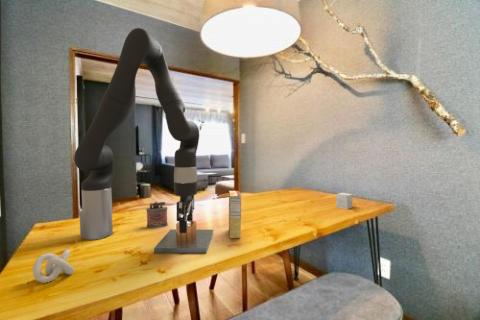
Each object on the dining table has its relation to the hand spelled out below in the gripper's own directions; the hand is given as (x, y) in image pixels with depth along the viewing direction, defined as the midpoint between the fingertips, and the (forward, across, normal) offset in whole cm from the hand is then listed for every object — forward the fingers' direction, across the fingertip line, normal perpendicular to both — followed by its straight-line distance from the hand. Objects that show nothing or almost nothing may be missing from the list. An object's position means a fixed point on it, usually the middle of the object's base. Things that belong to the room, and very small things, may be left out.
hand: (186, 228), depth 78 cm
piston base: (+5, 0, 0) cm, 5 cm away
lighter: (+5, -16, -16) cm, 23 cm away
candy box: (+5, -8, +16) cm, 19 cm away
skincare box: (+5, -46, +73) cm, 86 cm away
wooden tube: (+3, 0, 0) cm, 3 cm away
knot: (+5, +21, -27) cm, 35 cm away
